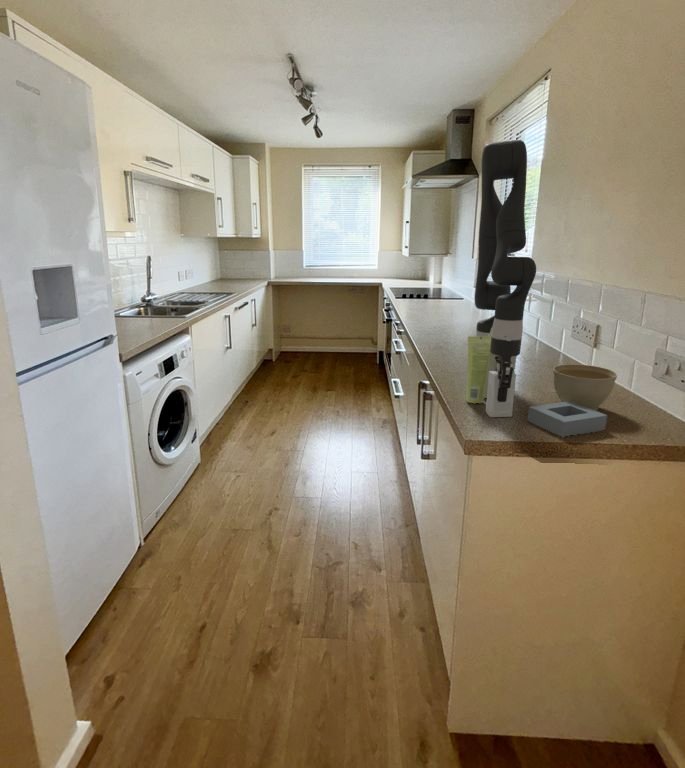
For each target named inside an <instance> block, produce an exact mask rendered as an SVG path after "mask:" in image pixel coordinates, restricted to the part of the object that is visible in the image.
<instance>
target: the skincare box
mask: <svg viewBox="0 0 685 768" xmlns="http://www.w3.org/2000/svg"><path fill="white" fill-rule="evenodd" d="M500 376H501V374H500ZM516 378H517V374H516V373H512V379H511V387H510V388H508V390H507V399H506V402H498V400H497V397H498V385H499V379H498V378H497V371H489V377H488V389H487V399H486V401H485V413H486V414H487V415H488V417H490V418H510V417H513V411H514V409H513V408H514V399H515V391H516V390H515V389H516V382H517V381H516V380H517V379H516ZM503 383H506V380H504V381H503Z"/></svg>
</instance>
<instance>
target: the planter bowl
mask: <svg viewBox="0 0 685 768" xmlns="http://www.w3.org/2000/svg"><path fill="white" fill-rule="evenodd" d="M552 372H553V376H552V378H553V379H552V381H553V387H554V390H555V392H556V394H557V396H558V399H560V402H567V401H571V402H574V403H577V404H579V405H582V406H584V407H587V408H590V409H592V410H595V411H599V410H598V409H599V407H600V406H601V405H602V404H603V403H605V401H606V400H607V399H608V398H609V397H610V394H611V393H612V391H613V389H614V386H615V382H616V380H617V377H618V374H617V372H615V371H613V370H611V369H608V368H605V367H601V366H596V365H589V364H588V365H587V364H582V363H581V364H578V363H577V364H575V363H570V364H568V363H567V364H566V363H565V364H559V365H556V366H553V369H552Z"/></svg>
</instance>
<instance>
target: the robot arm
mask: <svg viewBox="0 0 685 768" xmlns="http://www.w3.org/2000/svg"><path fill="white" fill-rule="evenodd" d="M527 151H528V150H527V146H526V143H525V141H523V140H522V139H516V140H515V139H514V140H503V141H495V142H489V143H486V144H485V145H484V147H483V151H482V154H481V155H482V156H481V202H480V203H481V207H480V220H479V228H478V229H479V230H478V258H477V260H478V261H477V273H476V278H475V279H476V280H475V281H476V282H475V288H474V289H475V290H474V306H475V308H477V310H481V311H483V310H485V311H494V315H493V316H491V317H489V318H484V319H481V320H479V321H478V322H477V324H476V330H475V337H488V336H489V334H490V331H491V328H492V336H491V346H490V352H491V353H492V354H494V355H498V356H495V369H494V371H497V378H498V379H499V385H498V397H497V400H498V402H506V399H507V390H508V388H510V387H511V379H512V373H513V362H511V357H512V356H519V355H520V354H521V347H522V338H523V333H524V331H523V328H524V326H523V325H524V312H525V306H526V301H527V298H528V296H529V292H530V289H531V288H532V286H533V282H534V279H535V278H536V274H537V264H536V262H535V260H534V258H532V257H528V256H508V255H509V254H513V253H517V252H520V251H521V250H523V249H524V248H525V247H526V245H527V233H526V221H525V217H526V216H525V207H526V205H525V204H526V192H527V191H526V190H527V173H528V172H527V170H528V152H527ZM509 179H511V180H512V179H513V182H512V183H513V184H512V188H511V190H510V192H509V194H508V196H507V198H506V199H505V201H504V202H503V203H502V202H501V201H500V198H499V196H498V195H497V192H496V190H495V185H494V183H495V181H498V180H509ZM490 274H491V279H492V280H488V278H489V276H490ZM512 286H516V287H515V288H514V289H513V291H511V290H512V288H511V287H512ZM500 374H501V376H500ZM504 380H506V383H503V381H504Z"/></svg>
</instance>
